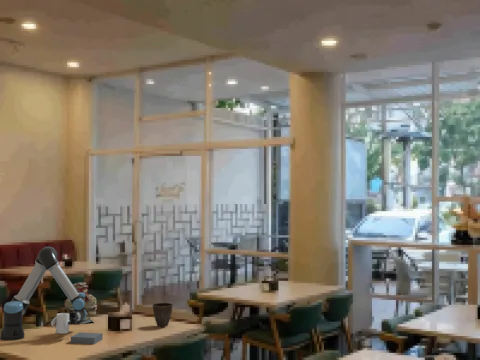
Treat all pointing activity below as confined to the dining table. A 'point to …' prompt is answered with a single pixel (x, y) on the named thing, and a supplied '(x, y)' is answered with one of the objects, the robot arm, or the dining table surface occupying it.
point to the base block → (86, 338)
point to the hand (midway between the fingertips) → (58, 323)
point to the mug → (61, 323)
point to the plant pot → (162, 313)
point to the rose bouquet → (88, 301)
